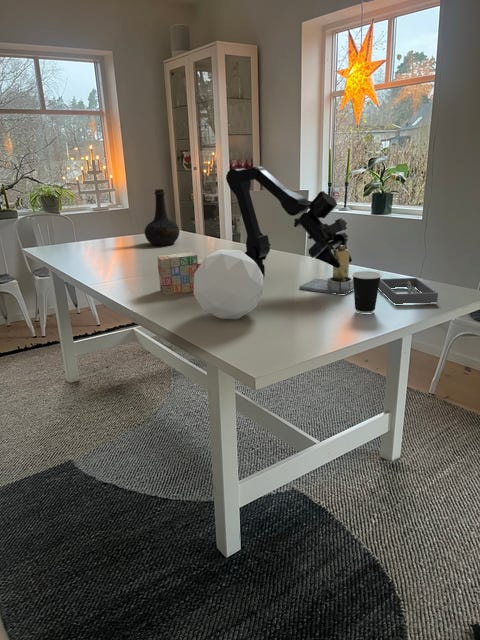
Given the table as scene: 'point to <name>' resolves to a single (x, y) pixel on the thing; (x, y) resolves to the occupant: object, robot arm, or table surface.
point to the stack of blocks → (177, 272)
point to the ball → (228, 284)
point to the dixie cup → (365, 290)
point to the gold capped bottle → (341, 264)
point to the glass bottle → (161, 224)
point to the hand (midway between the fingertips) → (345, 264)
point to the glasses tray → (424, 297)
